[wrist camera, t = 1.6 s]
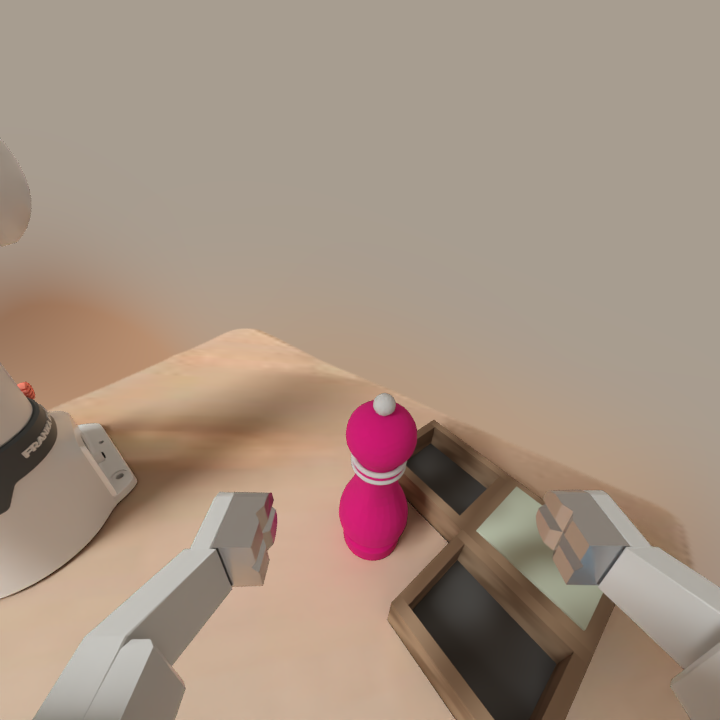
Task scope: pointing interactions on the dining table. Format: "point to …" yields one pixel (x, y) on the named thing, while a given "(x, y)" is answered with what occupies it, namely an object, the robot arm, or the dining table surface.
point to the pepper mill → (377, 477)
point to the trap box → (491, 592)
